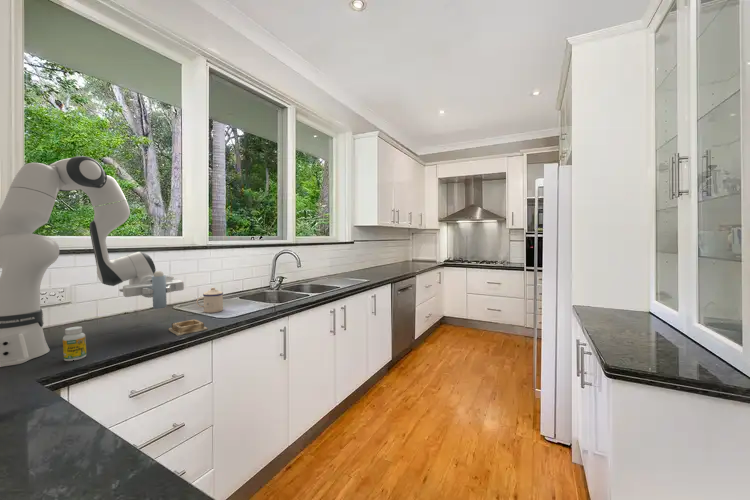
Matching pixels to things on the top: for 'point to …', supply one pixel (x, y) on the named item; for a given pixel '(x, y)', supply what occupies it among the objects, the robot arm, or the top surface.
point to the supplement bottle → (74, 344)
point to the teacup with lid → (212, 301)
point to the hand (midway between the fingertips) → (160, 290)
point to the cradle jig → (187, 327)
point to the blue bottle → (159, 290)
